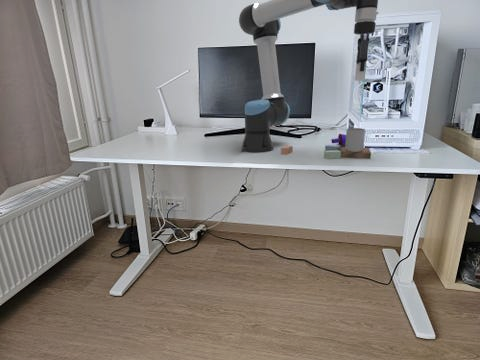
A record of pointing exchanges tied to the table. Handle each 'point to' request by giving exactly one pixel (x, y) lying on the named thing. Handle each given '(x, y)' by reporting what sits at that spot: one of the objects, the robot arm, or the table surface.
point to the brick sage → (332, 154)
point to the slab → (355, 153)
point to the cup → (355, 139)
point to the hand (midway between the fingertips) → (359, 80)
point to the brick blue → (332, 147)
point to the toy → (340, 140)
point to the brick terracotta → (286, 150)
